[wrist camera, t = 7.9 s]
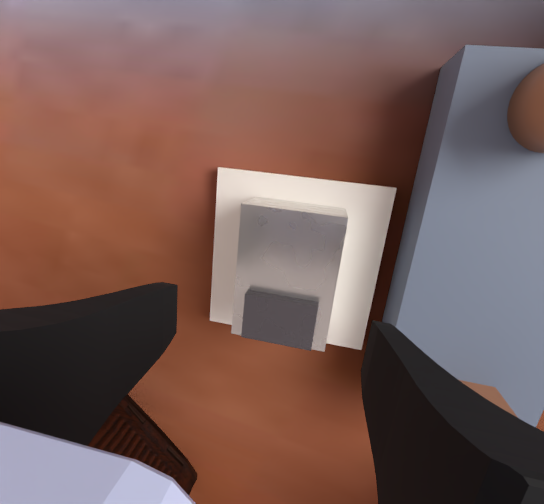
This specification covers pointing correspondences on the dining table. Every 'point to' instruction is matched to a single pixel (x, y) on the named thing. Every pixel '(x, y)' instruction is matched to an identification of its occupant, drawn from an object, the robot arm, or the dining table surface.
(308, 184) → the tile
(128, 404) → the manual coffee grinder
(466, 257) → the plane body
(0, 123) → the dining table surface
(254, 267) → the lever cap
